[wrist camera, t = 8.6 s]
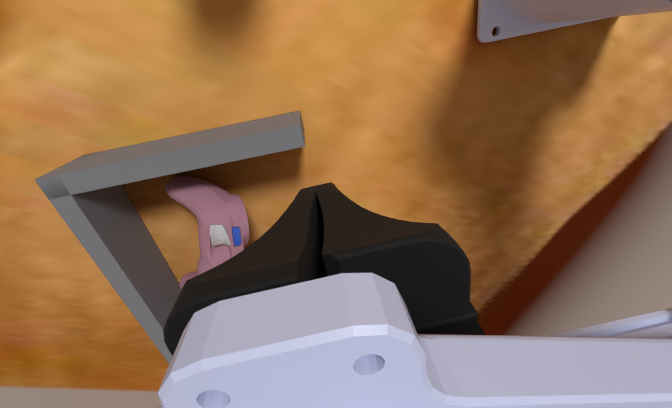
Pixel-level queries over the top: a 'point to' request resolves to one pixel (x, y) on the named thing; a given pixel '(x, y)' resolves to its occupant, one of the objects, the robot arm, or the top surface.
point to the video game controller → (212, 220)
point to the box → (125, 223)
